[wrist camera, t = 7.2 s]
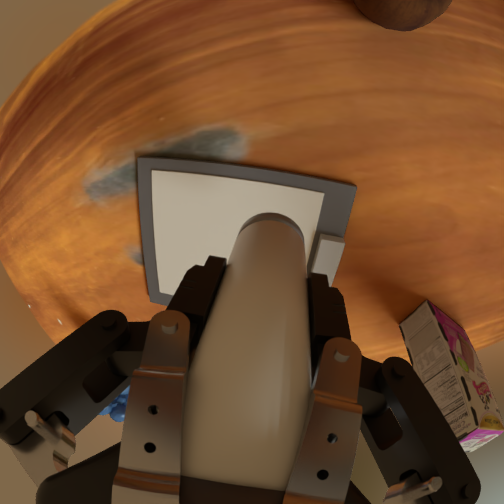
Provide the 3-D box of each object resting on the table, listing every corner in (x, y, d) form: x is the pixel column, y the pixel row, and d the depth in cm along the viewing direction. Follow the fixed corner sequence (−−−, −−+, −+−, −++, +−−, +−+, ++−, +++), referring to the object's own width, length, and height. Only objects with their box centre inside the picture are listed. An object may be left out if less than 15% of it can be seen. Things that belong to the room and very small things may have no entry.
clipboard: (140, 156, 21) (131, 160, 20) (355, 185, 20) (360, 191, 19) (152, 298, 29) (146, 307, 28) (310, 327, 28) (311, 338, 27)
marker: (238, 205, 14) (105, 538, 2) (313, 217, 13) (331, 573, 2) (232, 266, 16) (151, 534, 4) (298, 277, 15) (283, 555, 4)
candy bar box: (466, 328, 26) (506, 430, 12) (440, 350, 29) (470, 453, 15) (427, 295, 24) (480, 429, 10) (396, 324, 27) (429, 457, 13)
